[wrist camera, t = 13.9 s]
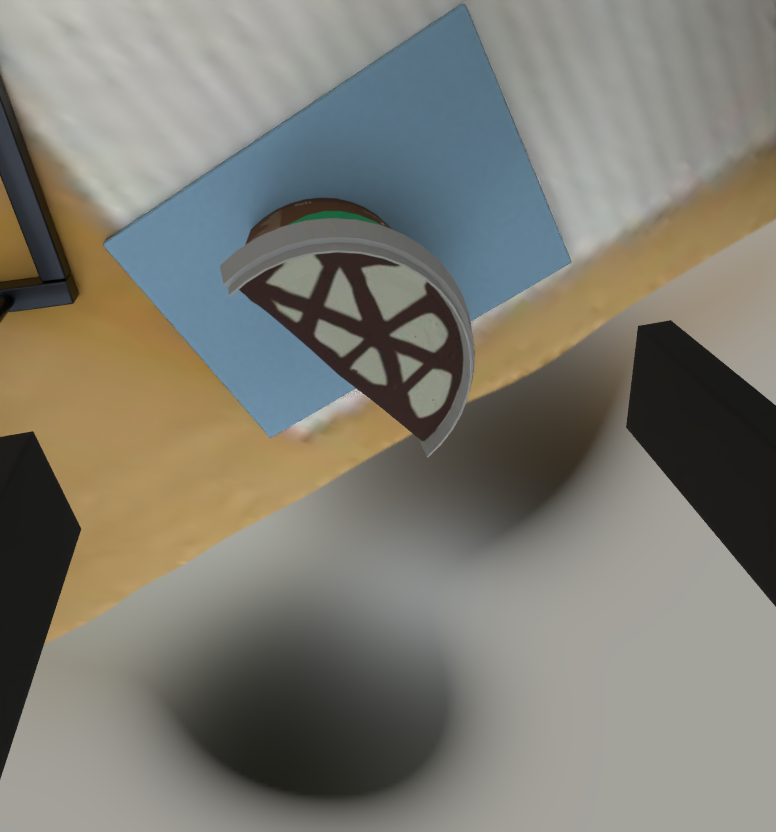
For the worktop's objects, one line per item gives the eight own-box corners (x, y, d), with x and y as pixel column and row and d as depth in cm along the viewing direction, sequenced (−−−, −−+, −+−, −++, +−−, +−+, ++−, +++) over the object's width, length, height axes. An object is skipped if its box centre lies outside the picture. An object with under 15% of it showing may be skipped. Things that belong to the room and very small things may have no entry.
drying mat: (462, 3, 30) (465, 3, 29) (568, 259, 37) (572, 262, 37) (103, 241, 32) (102, 244, 32) (270, 433, 40) (270, 438, 40)
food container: (477, 286, 37) (542, 374, 28) (396, 360, 38) (435, 463, 30) (315, 111, 30) (337, 158, 22) (226, 208, 32) (216, 286, 24)
